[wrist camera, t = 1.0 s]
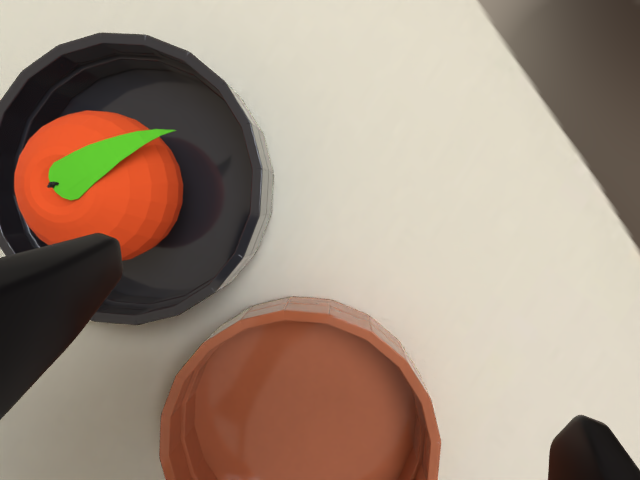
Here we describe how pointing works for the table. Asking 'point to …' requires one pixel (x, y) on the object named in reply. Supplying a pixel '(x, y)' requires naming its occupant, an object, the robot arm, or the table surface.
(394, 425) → the terracotta bowl
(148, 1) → the table surface
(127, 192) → the clementine
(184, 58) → the charcoal bowl
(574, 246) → the table surface
